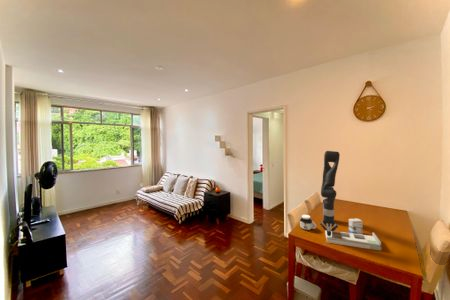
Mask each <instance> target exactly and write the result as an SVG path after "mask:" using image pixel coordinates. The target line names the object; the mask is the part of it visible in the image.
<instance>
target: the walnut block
mask: <svg viewBox="0 0 450 300" xmlns="http://www.w3.org/2000/svg"><path fill="white" fill-rule="evenodd" d="M341 232H342V231H337V230H334V231H332V238H339V239H342V235H341Z"/></svg>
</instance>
